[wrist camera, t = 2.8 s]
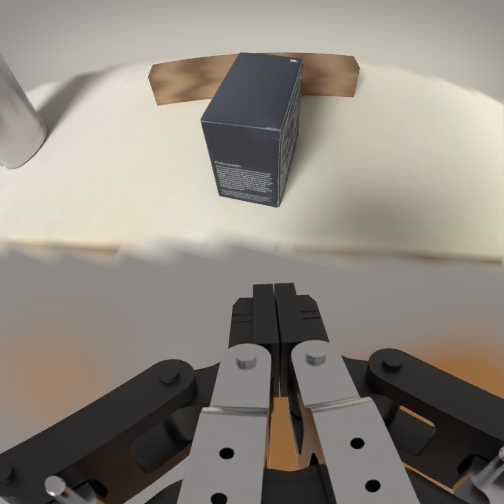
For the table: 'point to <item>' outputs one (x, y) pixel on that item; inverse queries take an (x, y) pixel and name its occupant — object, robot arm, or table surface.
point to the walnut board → (216, 67)
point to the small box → (254, 127)
